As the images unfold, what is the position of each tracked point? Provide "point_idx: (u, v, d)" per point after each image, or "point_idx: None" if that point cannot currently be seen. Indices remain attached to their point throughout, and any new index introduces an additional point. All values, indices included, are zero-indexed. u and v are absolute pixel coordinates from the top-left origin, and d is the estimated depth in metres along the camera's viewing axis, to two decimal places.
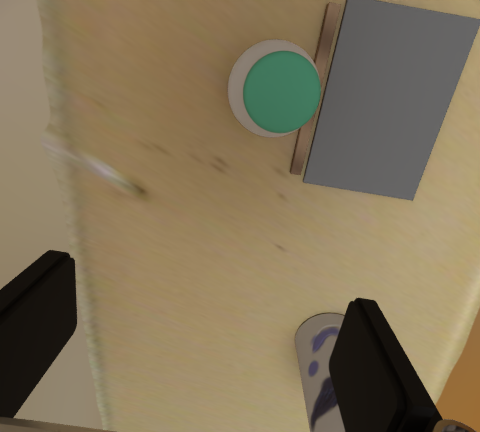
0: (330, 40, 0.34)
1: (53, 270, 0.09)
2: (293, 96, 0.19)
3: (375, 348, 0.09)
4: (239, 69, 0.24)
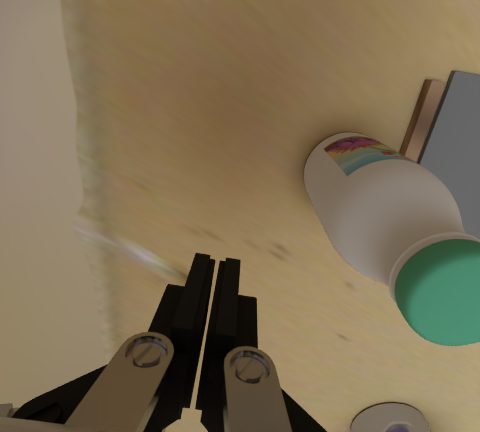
0: (428, 123, 0.28)
1: (209, 271, 0.11)
2: None
3: (214, 294, 0.10)
4: (359, 212, 0.18)
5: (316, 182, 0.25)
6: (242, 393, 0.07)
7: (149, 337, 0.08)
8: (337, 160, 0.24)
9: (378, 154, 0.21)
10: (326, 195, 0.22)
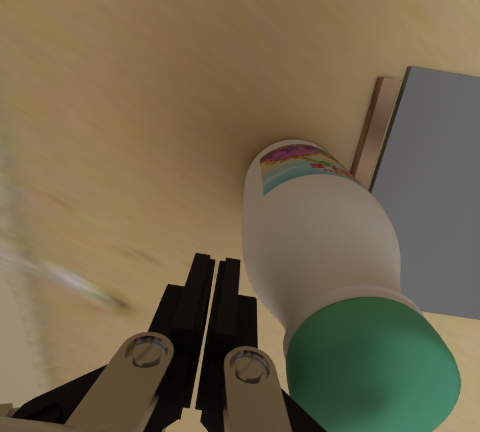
0: (383, 127, 0.24)
1: (209, 270, 0.11)
2: (401, 406, 0.09)
3: (214, 294, 0.10)
4: (266, 246, 0.14)
5: (244, 200, 0.21)
6: (242, 393, 0.07)
7: (149, 337, 0.08)
8: (264, 174, 0.19)
9: (305, 167, 0.17)
10: (245, 218, 0.18)
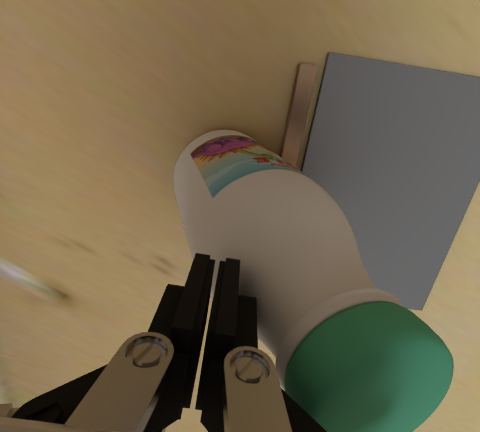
0: (304, 114, 0.24)
1: (209, 271, 0.11)
2: (406, 405, 0.09)
3: (214, 294, 0.10)
4: (230, 255, 0.13)
5: (182, 201, 0.19)
6: (242, 393, 0.07)
7: (149, 337, 0.08)
8: (203, 171, 0.18)
9: (250, 162, 0.16)
10: (191, 223, 0.16)
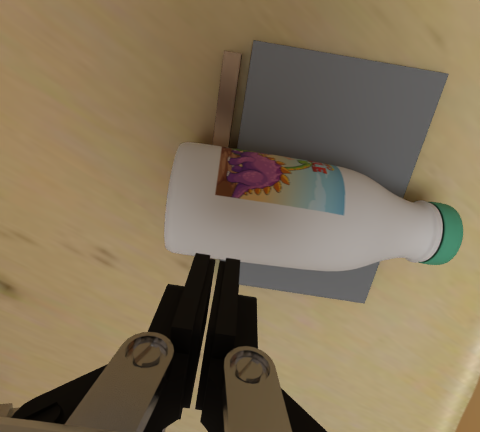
0: (231, 103, 0.24)
1: (209, 270, 0.11)
2: None
3: (214, 294, 0.10)
4: (385, 235, 0.21)
5: (270, 237, 0.20)
6: (242, 393, 0.07)
7: (149, 337, 0.08)
8: (290, 203, 0.19)
9: (324, 176, 0.21)
10: (323, 242, 0.20)
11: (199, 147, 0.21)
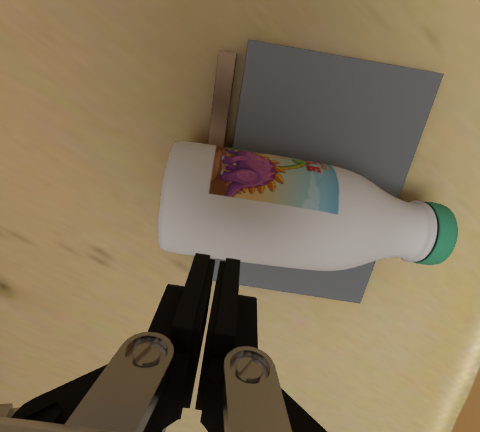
0: (226, 102, 0.24)
1: (209, 271, 0.11)
2: None
3: (214, 294, 0.10)
4: (379, 234, 0.21)
5: (263, 236, 0.20)
6: (242, 393, 0.07)
7: (149, 337, 0.08)
8: (284, 201, 0.19)
9: (318, 175, 0.21)
10: (317, 241, 0.20)
11: (193, 146, 0.21)
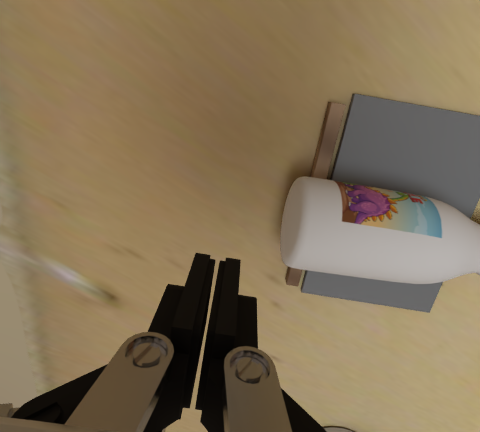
0: (333, 143, 0.29)
1: (208, 270, 0.11)
2: None
3: (214, 294, 0.10)
4: (471, 254, 0.25)
5: (382, 256, 0.24)
6: (242, 393, 0.07)
7: (149, 337, 0.08)
8: (400, 228, 0.24)
9: (422, 206, 0.25)
10: (424, 260, 0.25)
11: (320, 182, 0.26)
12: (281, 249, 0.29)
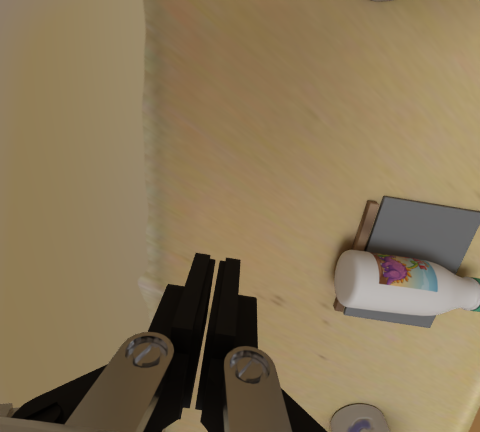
0: (370, 226, 0.45)
1: (209, 271, 0.11)
2: None
3: (214, 294, 0.10)
4: (455, 300, 0.42)
5: (402, 302, 0.41)
6: (242, 393, 0.07)
7: (149, 337, 0.08)
8: (413, 286, 0.41)
9: (426, 271, 0.42)
10: (427, 304, 0.42)
11: (364, 256, 0.42)
12: (336, 292, 0.46)
